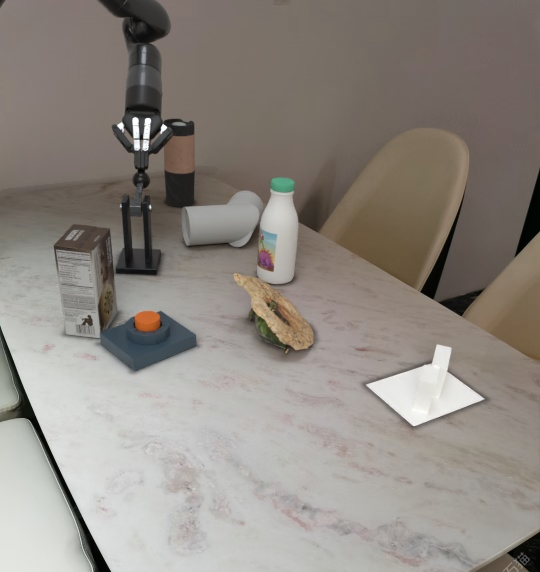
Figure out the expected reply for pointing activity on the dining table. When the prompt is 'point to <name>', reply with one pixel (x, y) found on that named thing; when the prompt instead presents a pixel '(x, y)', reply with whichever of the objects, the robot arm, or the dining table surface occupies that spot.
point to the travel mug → (180, 163)
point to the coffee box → (86, 280)
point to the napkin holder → (425, 390)
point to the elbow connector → (223, 221)
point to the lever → (138, 193)
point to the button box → (147, 342)
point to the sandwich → (275, 315)
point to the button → (147, 321)
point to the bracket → (135, 257)
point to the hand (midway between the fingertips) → (141, 170)
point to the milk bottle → (278, 234)
